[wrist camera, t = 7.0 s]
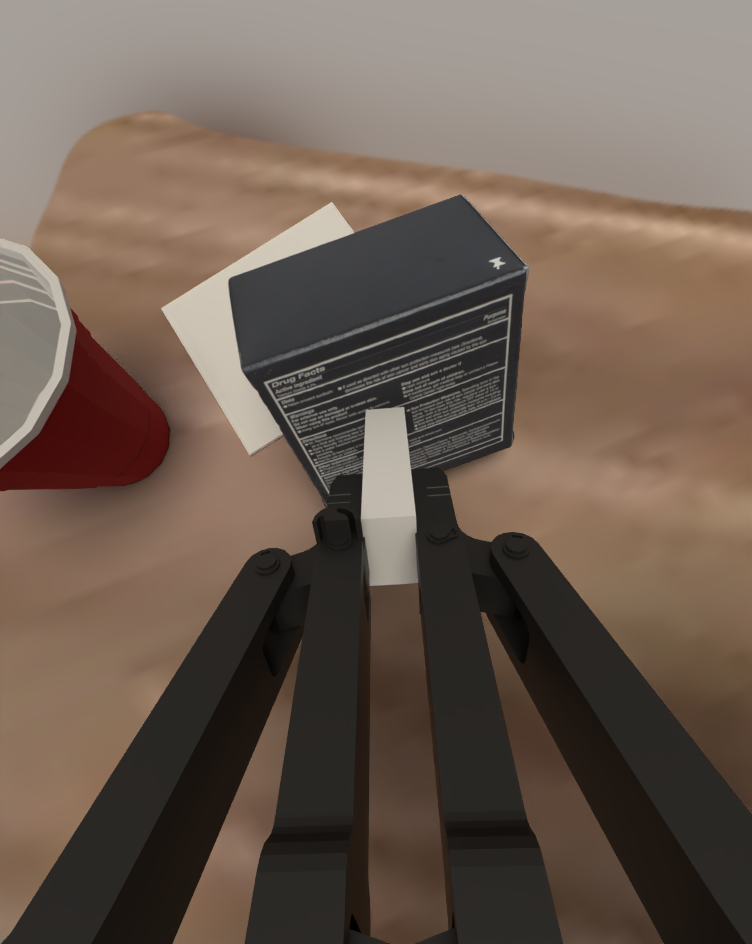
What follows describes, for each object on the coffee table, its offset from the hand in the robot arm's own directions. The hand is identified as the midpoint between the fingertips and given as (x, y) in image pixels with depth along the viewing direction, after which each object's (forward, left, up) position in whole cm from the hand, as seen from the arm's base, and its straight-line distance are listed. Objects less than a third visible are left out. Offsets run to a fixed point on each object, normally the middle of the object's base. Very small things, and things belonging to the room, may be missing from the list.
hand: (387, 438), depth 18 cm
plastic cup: (+11, +13, -8) cm, 19 cm away
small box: (+1, -1, -7) cm, 7 cm away
